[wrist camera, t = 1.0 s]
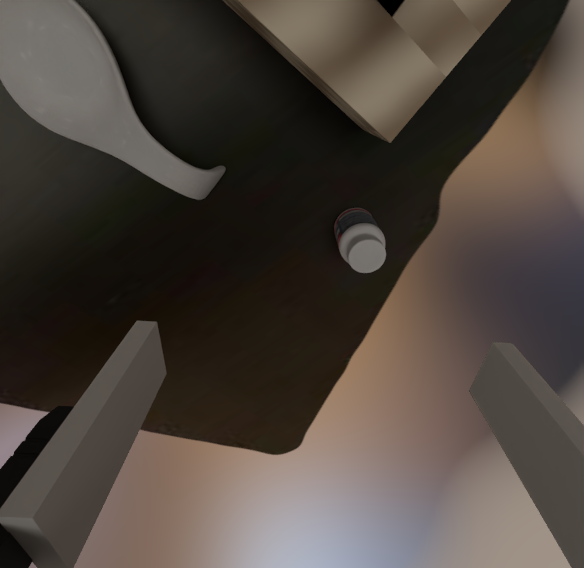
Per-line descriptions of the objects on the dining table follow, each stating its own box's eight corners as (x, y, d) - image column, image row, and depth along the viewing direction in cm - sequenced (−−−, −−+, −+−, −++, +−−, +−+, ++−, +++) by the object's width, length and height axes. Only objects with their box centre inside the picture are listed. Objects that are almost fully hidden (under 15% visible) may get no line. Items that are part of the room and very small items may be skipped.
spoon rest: (0, 75, 34) (-67, 70, 27) (37, -43, 29) (-34, -80, 23) (193, 216, 41) (175, 237, 35) (247, 141, 36) (236, 150, 30)
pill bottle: (327, 217, 41) (334, 245, 33) (366, 200, 39) (383, 224, 32) (342, 251, 43) (352, 284, 35) (379, 236, 42) (398, 267, 34)
